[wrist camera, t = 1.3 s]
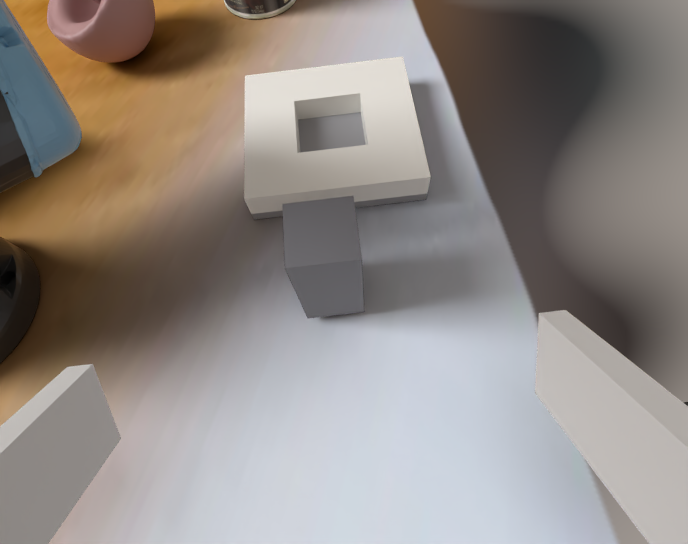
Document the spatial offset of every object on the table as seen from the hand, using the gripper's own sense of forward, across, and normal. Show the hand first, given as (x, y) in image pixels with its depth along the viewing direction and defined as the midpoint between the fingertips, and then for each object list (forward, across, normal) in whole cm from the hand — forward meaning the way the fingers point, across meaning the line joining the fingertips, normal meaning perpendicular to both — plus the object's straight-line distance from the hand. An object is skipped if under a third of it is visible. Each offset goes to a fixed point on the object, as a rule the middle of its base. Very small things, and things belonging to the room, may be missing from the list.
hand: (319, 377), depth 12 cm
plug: (+23, 0, -7) cm, 24 cm away
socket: (+35, +1, +5) cm, 35 cm away
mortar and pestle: (+48, -24, +19) cm, 57 cm away
